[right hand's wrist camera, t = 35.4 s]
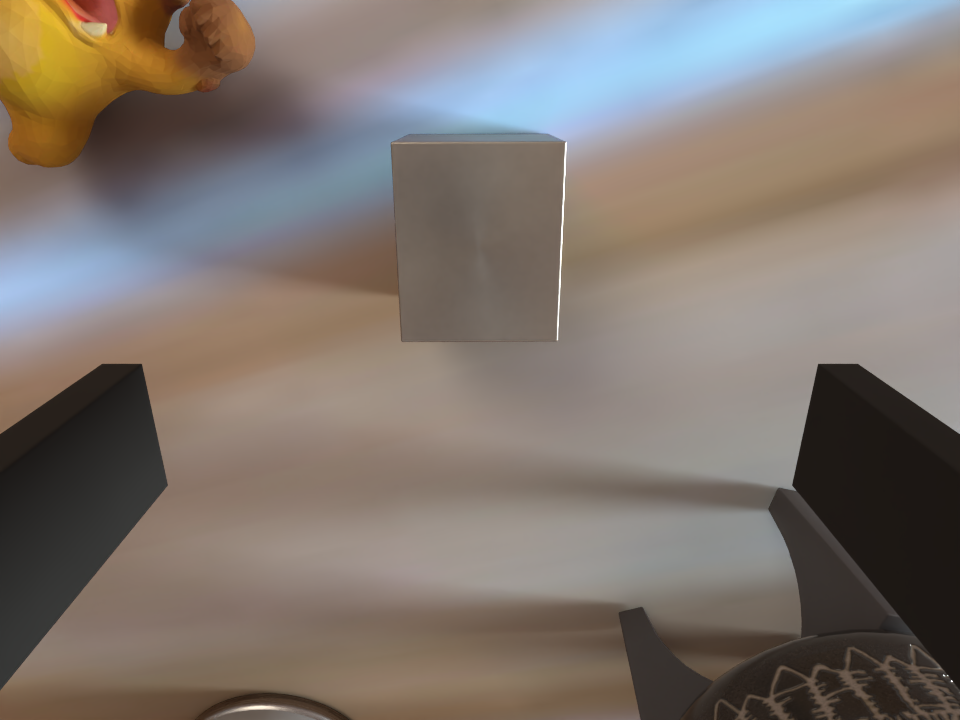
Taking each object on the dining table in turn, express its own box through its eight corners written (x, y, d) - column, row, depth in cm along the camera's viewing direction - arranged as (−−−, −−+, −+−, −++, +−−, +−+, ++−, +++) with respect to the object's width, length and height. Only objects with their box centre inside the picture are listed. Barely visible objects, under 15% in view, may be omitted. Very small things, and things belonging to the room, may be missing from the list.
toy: (-181, -109, 26) (152, -230, 24) (-37, -22, 32) (236, -113, 31) (-117, 159, 26) (219, 58, 24) (14, 193, 33) (288, 115, 31)
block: (549, 133, 33) (566, 141, 26) (543, 297, 36) (557, 341, 30) (408, 134, 33) (390, 142, 26) (415, 298, 36) (400, 342, 30)
